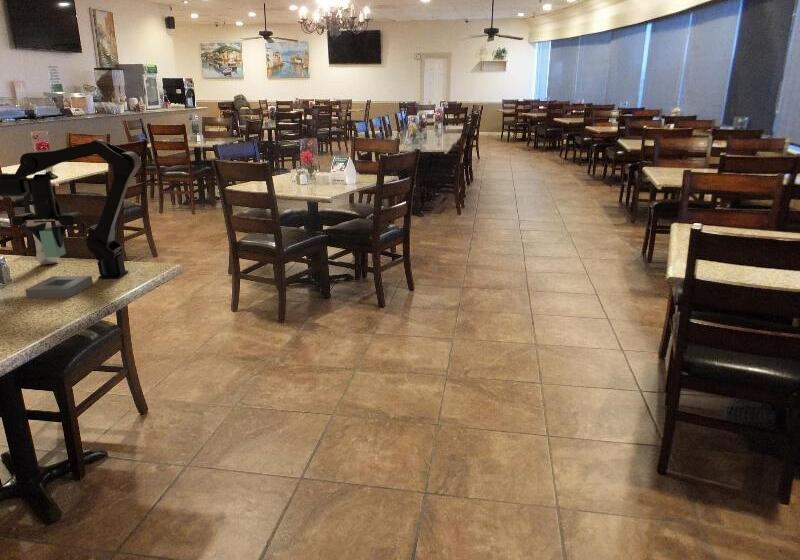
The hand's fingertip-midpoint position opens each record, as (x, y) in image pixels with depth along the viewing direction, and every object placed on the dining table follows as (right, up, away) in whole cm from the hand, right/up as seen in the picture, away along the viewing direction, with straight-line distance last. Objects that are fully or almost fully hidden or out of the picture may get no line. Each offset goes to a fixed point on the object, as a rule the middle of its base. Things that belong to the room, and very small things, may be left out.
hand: (53, 247), depth 174 cm
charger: (0, -2, +1) cm, 3 cm away
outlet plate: (+7, -13, -8) cm, 17 cm away
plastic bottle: (-14, -5, +20) cm, 25 cm away
